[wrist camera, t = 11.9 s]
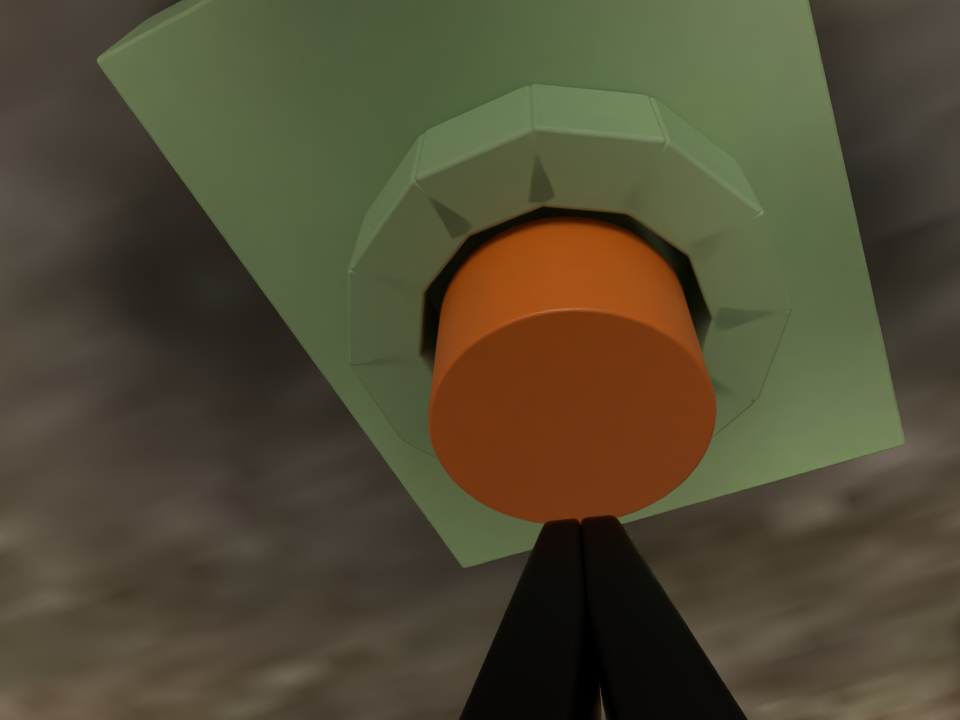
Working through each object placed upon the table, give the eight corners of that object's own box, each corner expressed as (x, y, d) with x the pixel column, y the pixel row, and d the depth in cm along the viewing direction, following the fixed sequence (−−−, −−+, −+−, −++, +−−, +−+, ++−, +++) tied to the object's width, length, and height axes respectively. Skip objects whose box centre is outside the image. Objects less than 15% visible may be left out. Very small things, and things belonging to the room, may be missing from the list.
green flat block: (869, 378, 19) (943, 511, 15) (466, 501, 21) (459, 636, 18) (710, -289, 12) (786, -299, 8) (143, 20, 14) (38, 101, 11)
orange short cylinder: (715, 374, 14) (749, 482, 12) (500, 444, 15) (498, 553, 13) (639, 174, 12) (666, 264, 10) (396, 271, 13) (375, 371, 11)
